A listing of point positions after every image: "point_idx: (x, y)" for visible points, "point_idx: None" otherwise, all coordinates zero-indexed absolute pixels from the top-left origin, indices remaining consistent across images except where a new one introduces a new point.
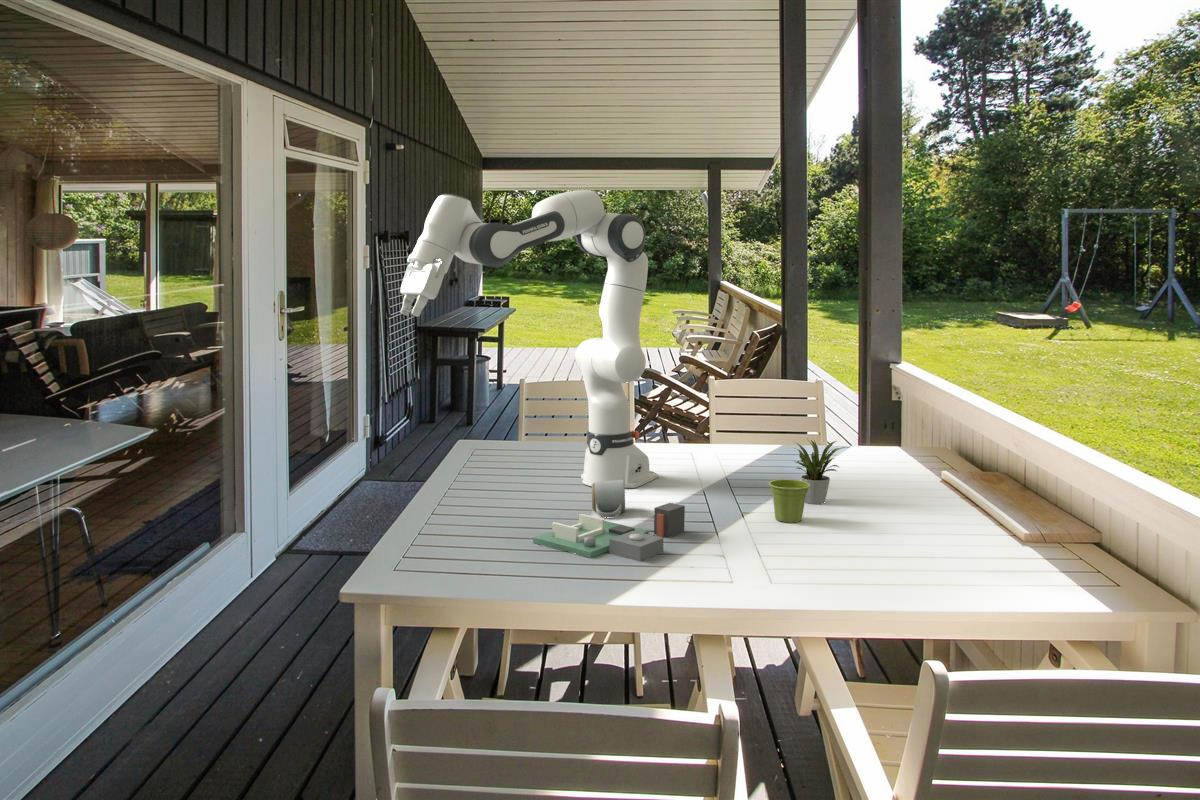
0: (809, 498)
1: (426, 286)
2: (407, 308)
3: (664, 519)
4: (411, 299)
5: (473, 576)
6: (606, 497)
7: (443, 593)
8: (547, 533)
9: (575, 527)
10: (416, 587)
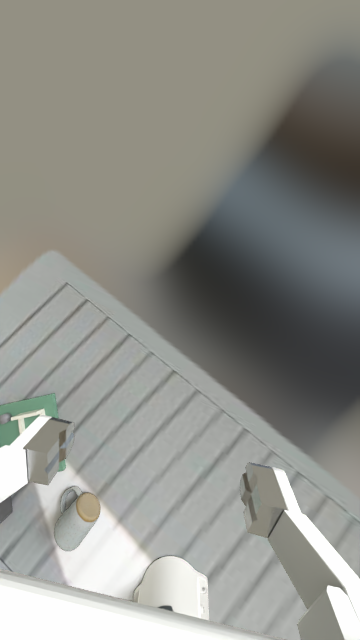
0: None
1: None
2: (254, 513)
3: None
4: (312, 638)
5: (22, 318)
6: (68, 508)
7: (9, 287)
8: (52, 409)
9: (13, 419)
10: (29, 279)
